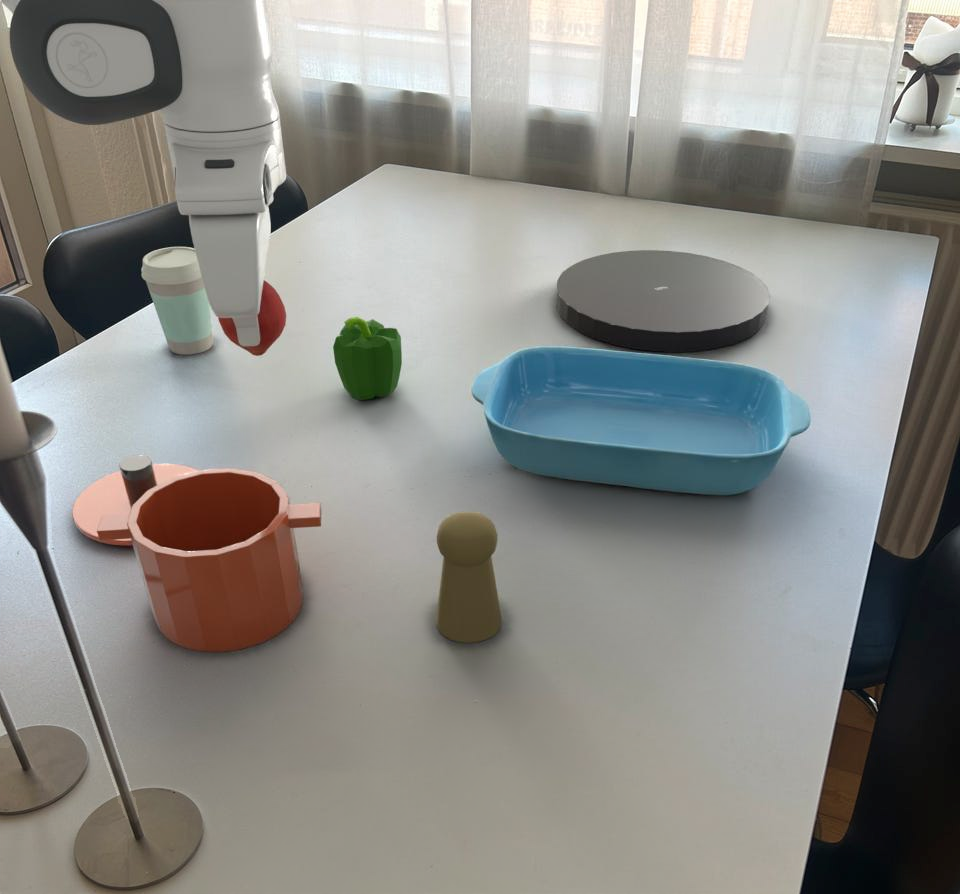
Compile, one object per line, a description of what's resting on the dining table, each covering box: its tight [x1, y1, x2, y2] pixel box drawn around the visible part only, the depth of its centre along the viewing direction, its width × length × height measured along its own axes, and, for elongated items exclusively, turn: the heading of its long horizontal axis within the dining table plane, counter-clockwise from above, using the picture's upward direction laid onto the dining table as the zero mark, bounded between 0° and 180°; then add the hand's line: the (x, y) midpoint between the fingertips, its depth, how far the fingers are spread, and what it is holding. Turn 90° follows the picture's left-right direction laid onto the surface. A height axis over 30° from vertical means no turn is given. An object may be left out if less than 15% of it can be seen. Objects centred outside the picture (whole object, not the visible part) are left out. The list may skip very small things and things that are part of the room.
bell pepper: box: [332, 316, 403, 401], centre depth 122 cm, size 8×8×10 cm
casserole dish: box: [471, 345, 812, 496], centre depth 112 cm, size 37×22×7 cm, turn 79°
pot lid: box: [71, 454, 200, 546], centre depth 104 cm, size 15×15×6 cm
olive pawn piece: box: [435, 510, 503, 644], centre depth 88 cm, size 6×6×11 cm
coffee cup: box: [140, 246, 214, 356], centre depth 131 cm, size 8×8×12 cm
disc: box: [555, 249, 771, 353], centre depth 143 cm, size 30×30×3 cm
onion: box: [217, 279, 287, 357], centre depth 87 cm, size 6×6×8 cm
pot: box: [97, 467, 322, 653], centre depth 90 cm, size 14×19×10 cm
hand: (253, 325), depth 88 cm, fingers closed on onion, 6 cm apart
